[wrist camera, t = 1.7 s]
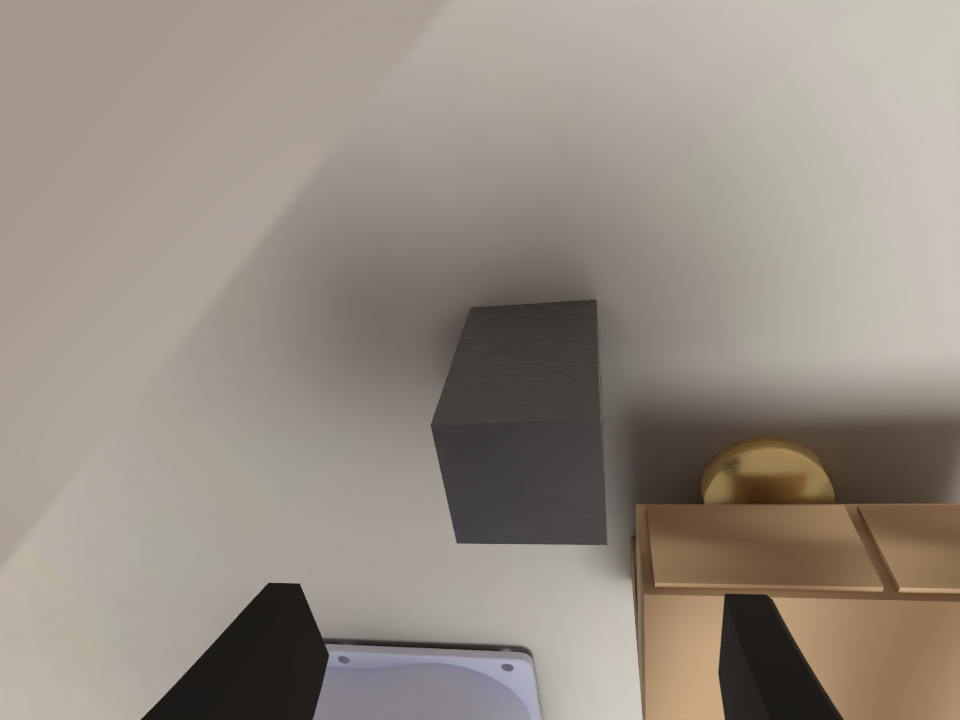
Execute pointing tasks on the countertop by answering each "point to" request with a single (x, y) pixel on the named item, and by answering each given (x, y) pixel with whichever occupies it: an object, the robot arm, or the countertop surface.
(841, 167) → the countertop surface
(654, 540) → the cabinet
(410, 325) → the countertop surface
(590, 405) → the dark grey block
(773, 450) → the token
